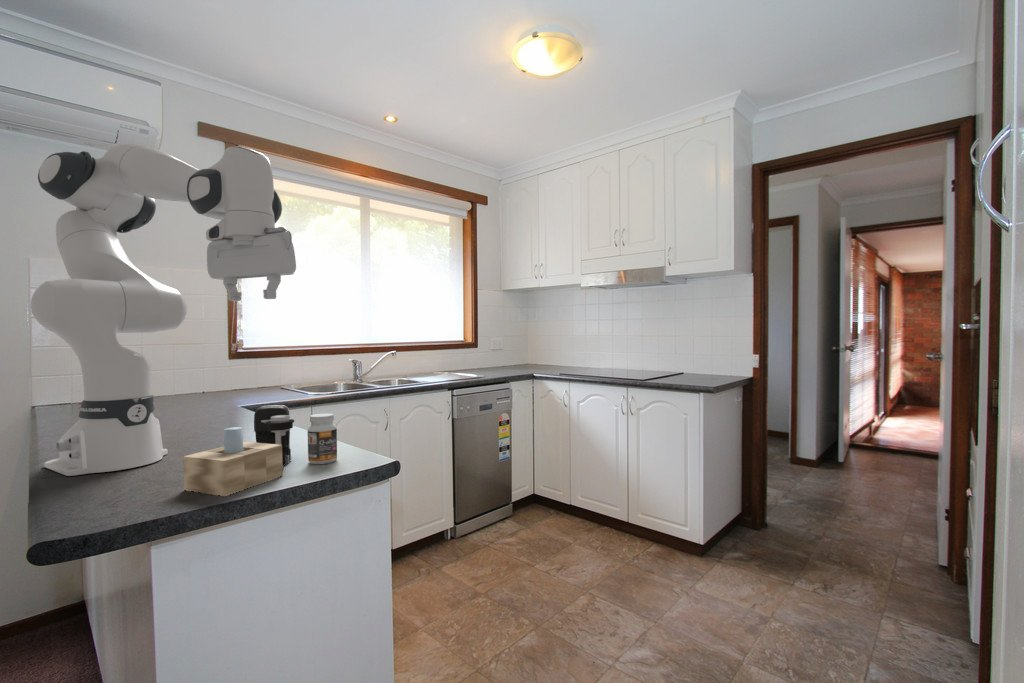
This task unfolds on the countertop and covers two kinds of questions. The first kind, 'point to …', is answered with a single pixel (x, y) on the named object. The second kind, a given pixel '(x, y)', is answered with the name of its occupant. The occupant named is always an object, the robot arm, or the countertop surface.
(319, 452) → the pill bottle
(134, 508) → the countertop surface
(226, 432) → the peg
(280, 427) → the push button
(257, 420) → the coffee maker
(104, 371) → the robot arm
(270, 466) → the socket block
